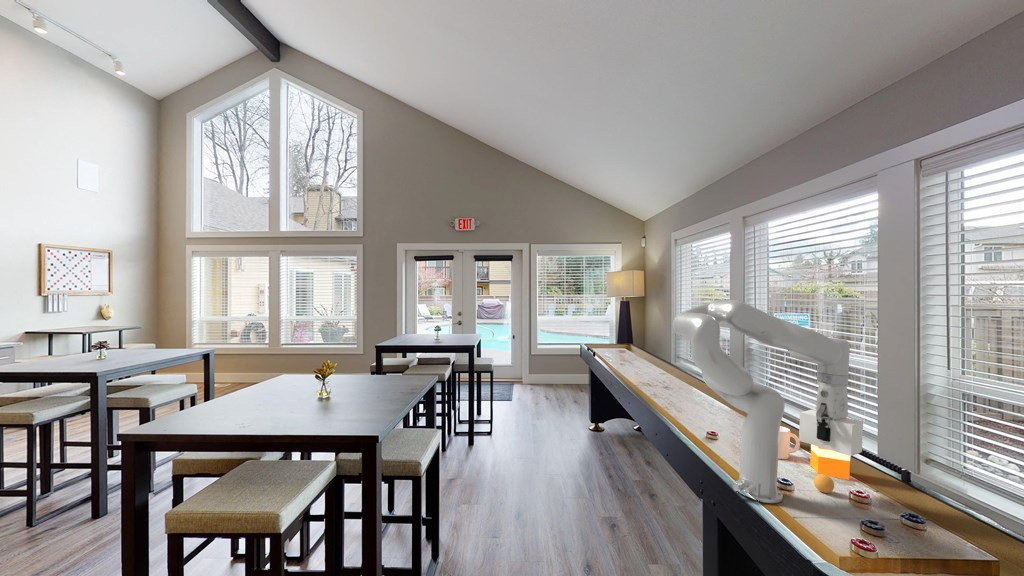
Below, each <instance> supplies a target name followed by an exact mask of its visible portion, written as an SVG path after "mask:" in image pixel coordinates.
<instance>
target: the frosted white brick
mask: <svg viewBox="0 0 1024 576" xmlns="http://www.w3.org/2000/svg"><path fill="white" fill-rule="evenodd" d="M825 416H826V415H825ZM827 417H829V416H827ZM823 419H824V418H823ZM825 421H826V422H827V419H825ZM829 428H831V431H830V441H829V442H827V441H823V440H820V439H817V417H816V409H809V410H804V411H800V412H799V430H798V438H799V441H800V443H805V444H808V445H810V446H811V445H815V446H818V447H821V448H825V449H828V450H831V451H835V452H838V453H842V454H845V455H848V456H850V457H852V456H855V455H857V454H858V455H859V454H861V453H863V439H864V437H863V436H864V421H861V420H859V419H858V420H857V419H852V418H848V417H847V418H843V419H839V420H833V419H830V426H829Z"/></svg>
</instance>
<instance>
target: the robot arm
mask: <svg viewBox="0 0 1024 576" xmlns="http://www.w3.org/2000/svg"><path fill="white" fill-rule="evenodd" d="M721 328H727V329H730V330H733V331H735V332H738V333H739V334H742V335H743V336H747V337H749V338H750V339H753V340H754V341H756V342H760V343H761V344H764V345H767V346H771V347H773V348H779V349H783V350H787V351H788V353H789V354H790V356H791V357H793V358H794V359H797V360H799V361H803V362H808V363H813V364H817V365H816V383H817V384H818V385H817V386H818V387H817V395H816V401H815V402H816V403H815V404H816V405H815V410H816V417H817V439H820V440H823V441H827V442H829V441H830V431H831V428H829V426H830V419H833V420H839V419H843V418H846V417H847V418H848V415H849V414H848V413H849V408H848V407H849V406H848V405H849V400H848V399H849V398H848V387H849V374H850V373H849V371H850V352H851V351H850V349H851V348H850V347H851V345H850V342H849V341H848V340H846V339H843V338H834V337H828V336H826V335H823V334H822V333H819V332H818V331H815V330H812V329H810V328H807V327H804V326H802V325H798V324H795V323H793V322H790V321H788V320H785V319H781V318H779V317H777V316H774V315H772V314H769V313H767V312H765V311H763V310H761V309H758V308H756V307H755V306H753V305H750V304H748V303H745V302H743V301H740V300H736V299H716V300H713V301H712V300H711V301H710V302H707V303H704V304H701V305H699V306H696V307H693V308H690V309H687V310H685V311H682V312H679V313H678V314H677V315H676V316H675V317H674V319H673V321H672V329H673V332H674V334H675V335H676V336H677V337H679V338H681V339H682V340H687V341H691V343H690V351H691V352H690V354H691V359H692V362H693V363H694V364H695V366H697V368H698V369H699V370H700V371H701V377H702V380H703V382H704V383H705V384H706V386H707V387H708V388H710V389H711V390H712V391H713V392H714V393H715V394H717V395H718V396H719V397H721V398H722V399H723V400H724V401H726V402H727V404H730V405H731V406H732V407H734V408H736V409H738V410H739V411H742V412H744V413H746V414H747V415H746V418H745V419H744V421H743V424H742V426H741V434H740V438H741V439H740V455H739V456H740V458H739V479H736V480H735V481H734V482H736V483H737V484H734V485H733V484H732V489H733V491H734V492H736V491H740V490H745V492H746V493H749V494H750V495H751V496H753V497H754V498H756V499H757V500H758V501H757V502H759V501H760V502H761V503H766V504H777V503H778V504H779V503H781V502H782V501H783V500H784V497H783V496H784V495H783V493H782V492H781V491H780V490H779V489H777V486H778V485H777V484H778V469H779V459H778V450H779V431H780V426H781V423H782V419H783V416H784V412H785V401H784V398H783V396H782V395H781V394H780V392H778V391H777V390H776V389H773V388H772V387H770V386H767V385H764V384H760V383H758V382H754V380H753V379H754V378H753V377H752V374H750V372H749V371H748V369H746V368H745V367H744V366H743V365H741V364H740V363H739V362H737V361H736V360H735V359H734V358H733V357H731V356H730V355H729V354H728V353H727V352H726V351H724V349H722V346H721V342H720V337H721ZM825 415H826V416H825ZM827 416H829V417H827ZM823 418H824V419H823ZM825 419H827V422H826V421H825Z"/></svg>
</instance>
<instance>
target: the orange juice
mask: <svg viewBox="0 0 1024 576" xmlns="http://www.w3.org/2000/svg"><path fill="white" fill-rule="evenodd" d="M846 418H848V416H847V417H846ZM810 465H811V466H812V467H813V468H812V467H811V466H810V467H811V468H812V469H813V471H814V470H815V471H816V472H817V473H818V474H817V473H816V472H815V471H814V472H815V473H816V474H817V475H820V474H822V475H826V476H828V477H834V478H837V479H838V478H839V479H845V480H850V466H851V456H848V455H845V454H842V453H838V452H835V451H831V450H828V449H825V448H821V447H818V446H815V445H811V444H810Z"/></svg>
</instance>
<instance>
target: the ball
mask: <svg viewBox="0 0 1024 576" xmlns="http://www.w3.org/2000/svg"><path fill="white" fill-rule="evenodd" d="M813 484H814V487H815V488H816V489H817V490H818V491H820V492H822V493H826V494H829V493H831V492H833V491H834V489H835V483H834V480H833V479H832V478H831V476H826V475H820V474H817V475H815V477H814V479H813Z"/></svg>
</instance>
